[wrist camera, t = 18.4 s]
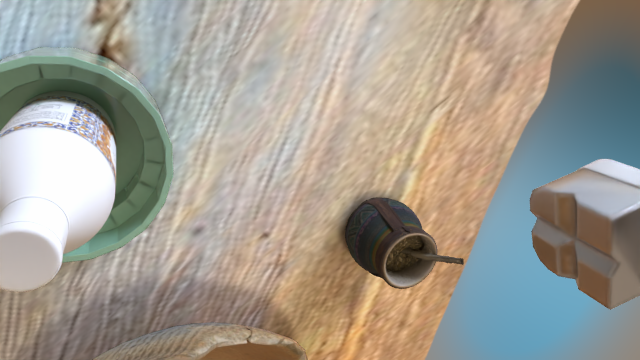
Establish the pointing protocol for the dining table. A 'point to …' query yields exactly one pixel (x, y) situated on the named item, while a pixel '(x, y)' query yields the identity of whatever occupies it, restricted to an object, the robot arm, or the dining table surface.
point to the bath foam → (52, 184)
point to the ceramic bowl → (208, 344)
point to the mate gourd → (392, 243)
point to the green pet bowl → (129, 123)
